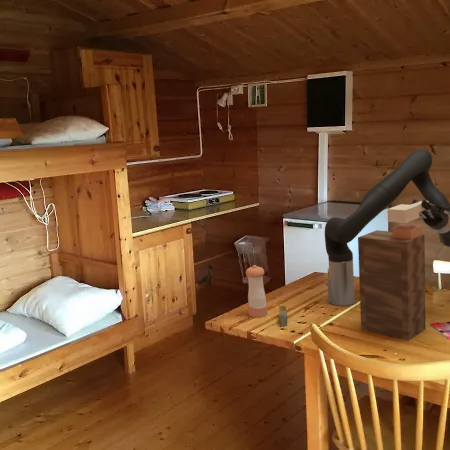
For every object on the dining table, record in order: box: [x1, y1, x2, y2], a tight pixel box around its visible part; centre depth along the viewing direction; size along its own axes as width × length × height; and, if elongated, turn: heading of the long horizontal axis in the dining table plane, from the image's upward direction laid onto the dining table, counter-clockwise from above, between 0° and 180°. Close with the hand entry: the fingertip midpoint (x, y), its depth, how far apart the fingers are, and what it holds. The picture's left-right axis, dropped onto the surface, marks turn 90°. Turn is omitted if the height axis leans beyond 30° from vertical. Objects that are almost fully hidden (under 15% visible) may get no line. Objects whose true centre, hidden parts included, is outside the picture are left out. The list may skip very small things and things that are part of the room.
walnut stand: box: [357, 229, 427, 342], centre depth 180 cm, size 12×17×32 cm
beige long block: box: [386, 200, 429, 224], centre depth 176 cm, size 20×6×4 cm, turn 135°
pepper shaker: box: [245, 264, 268, 318], centre depth 206 cm, size 7×7×19 cm
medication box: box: [278, 305, 288, 328], centre depth 198 cm, size 12×3×4 cm, turn 177°
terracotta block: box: [391, 224, 423, 240], centre depth 174 cm, size 7×6×3 cm
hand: (418, 202), depth 179 cm, fingers closed on beige long block, 2 cm apart
